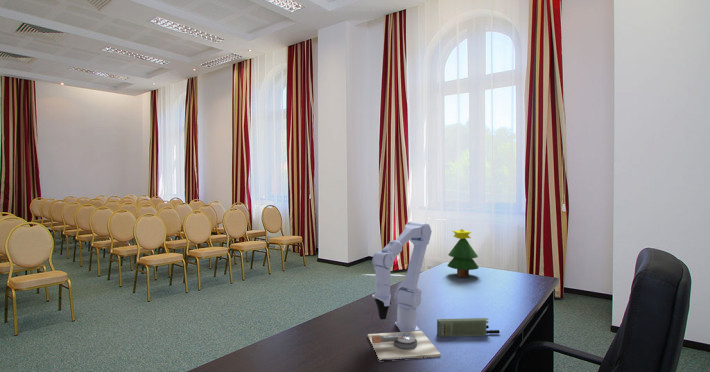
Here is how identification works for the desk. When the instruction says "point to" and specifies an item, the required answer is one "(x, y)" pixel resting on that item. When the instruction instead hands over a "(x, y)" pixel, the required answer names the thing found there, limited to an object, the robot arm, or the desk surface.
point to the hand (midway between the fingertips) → (382, 318)
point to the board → (399, 353)
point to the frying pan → (395, 338)
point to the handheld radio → (463, 327)
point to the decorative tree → (462, 255)
